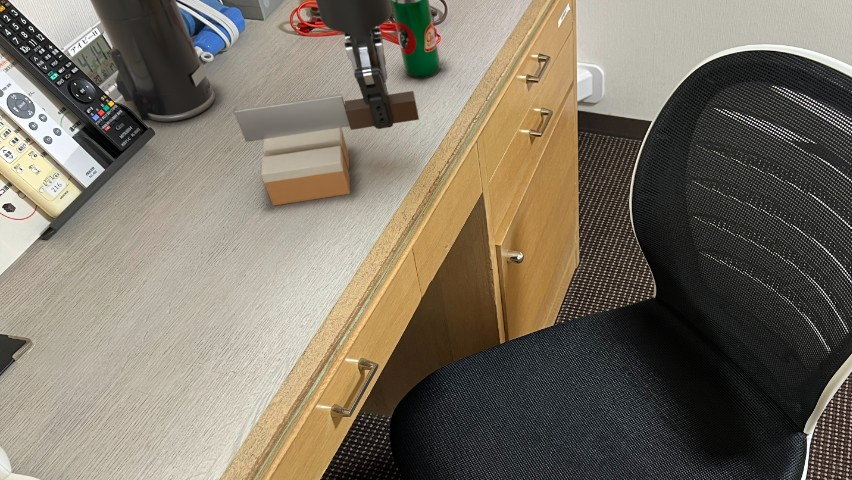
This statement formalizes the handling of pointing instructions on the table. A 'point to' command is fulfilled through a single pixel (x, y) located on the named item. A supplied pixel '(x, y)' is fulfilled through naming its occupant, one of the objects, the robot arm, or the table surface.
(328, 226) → the table surface
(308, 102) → the knife
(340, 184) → the cake slice
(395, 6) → the soda can
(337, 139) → the cake
